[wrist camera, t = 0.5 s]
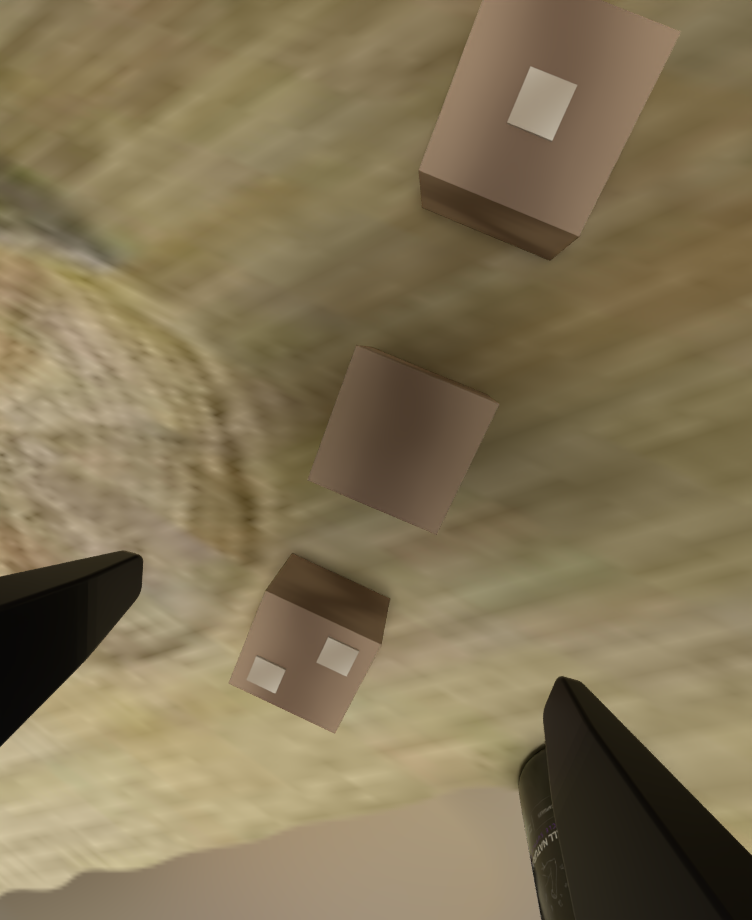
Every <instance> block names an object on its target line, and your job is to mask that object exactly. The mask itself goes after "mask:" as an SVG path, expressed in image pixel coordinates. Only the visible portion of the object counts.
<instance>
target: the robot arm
mask: <svg viewBox="0 0 752 920" xmlns="http://www.w3.org/2000/svg"><path fill="white" fill-rule="evenodd" d="M142 574H143V558H142V557H141V556H140V555H139V554H135V553H132V552H128V551H117V552H113V553H108V554H103V555H99V556H94V557H89V558H85V559H80V560H75V561H71V562H66V563H61V564H57V565H52V566H47V567H43V568H38V569H34V570H29V571H24V572H20V573H15V574H10V575H6V576H1V577H0V747H1V746H2V745H3V744H4V743H5V742H6V741H7V739H8V738H9V737H10V736H11V735H12V734H13V733H14V732H15V731H16V730H17V729H18V728H19V727H20V726H21V725H22V724H23V723H24V722H25V721H26V720H27V719H28V718H29V717H30V716H31V715H32V714H33V713H34V712H35V711H36V710H37V709H38V708H39V707H40V706H41V705H42V704H43V703H44V702H45V701H46V700H47V699H48V698H49V697H50V696H51V695H52V694H53V693H54V692H55V691H56V690H57V689H58V688H59V687H60V686H61V685H62V684H63V683H64V682H65V681H66V680H67V679H68V678H69V677H70V676H71V675H72V674H73V673H74V672H75V671H76V670H77V669H78V668H79V667H80V666H81V664H82V663H83V662H84V661H85V660H86V659H87V658H88V657H89V656H90V655H91V653H92V652H93V651H94V650H95V649H96V648H97V647H98V645H99V644H100V643H101V642H102V640H103V639H104V638H105V637H106V636H107V634H108V633H109V632H110V631H111V630H112V628H113V627H114V626H115V625H116V624H117V622H118V621H119V620H120V619H121V617H122V616H123V615H124V614H125V613H126V611H127V610H128V609H129V608H130V607H131V605H132V604H133V603H134V602H135V601H136V599H137V598H138V596H139V594H140V592H141V588H142ZM543 724H544V733H545V743H546V752H547V762H548V771H549V781H550V790H551V798H552V806H553V811H554V817H555V823H556V827H557V832H558V837H559V842H560V847H561V852H562V857H563V862H564V867H565V872H566V877H567V882H568V886H569V891H570V896H571V901H572V906H573V911H574V916H575V920H752V855H751V854H750V853H749V852H748V851H747V850H746V849H745V848H744V847H743V846H742V845H741V844H740V843H739V842H738V841H737V840H736V839H735V838H734V837H733V836H732V835H731V834H730V833H729V832H728V831H727V830H726V829H725V827H724V826H723V825H722V824H721V823H720V822H719V821H718V820H717V819H716V818H715V817H714V816H713V815H712V814H711V813H710V812H709V811H708V810H707V809H706V808H705V807H704V806H703V805H702V804H701V803H700V802H699V801H698V800H697V799H696V798H695V797H694V796H693V795H692V794H691V793H690V792H689V791H688V790H687V789H686V788H685V787H684V786H683V785H682V784H681V783H680V782H679V781H678V780H677V779H676V778H675V777H674V776H673V775H672V774H671V773H670V772H669V771H668V769H667V768H666V767H665V766H664V765H663V764H662V763H661V762H660V761H659V760H658V759H657V758H656V757H655V756H654V755H653V754H652V753H651V752H650V751H649V750H648V749H647V748H646V747H645V746H644V745H643V744H642V743H641V742H640V741H639V740H638V739H637V738H636V737H635V736H634V735H633V734H632V733H631V732H630V731H629V730H628V729H627V728H626V727H625V726H624V725H623V724H622V723H621V722H620V721H619V720H618V719H617V718H616V717H615V716H614V715H613V714H612V713H611V711H610V710H609V709H608V708H607V707H606V706H605V705H604V704H603V703H602V702H601V701H600V700H599V699H598V698H597V697H596V696H595V695H594V694H593V693H592V692H591V691H590V690H589V689H588V688H587V687H586V686H585V685H584V684H583V683H582V682H580V681H578V680H574V679H571V678H567V677H564V676H561V677H558V678H557V679H556V681H555V683H554V685H553V688H552V690H551V693H550V695H549V698H548V700H547V702H546V705H545V708H544V713H543Z"/></svg>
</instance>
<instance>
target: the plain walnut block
mask: <svg viewBox="0 0 752 920" xmlns="http://www.w3.org/2000/svg"><path fill="white" fill-rule="evenodd" d="M498 407H499V403H497V402H496V401H495V400H494V399H492V398H491V397H490V396H488V395H487V394H484V393H482V392H479V391H477V390H475V389H472V388H470V387H467V386H465V385H462V384H460V383H457V382H455V381H453V380H450V379H448V378H445V377H443V376H440V375H438V374H436V373H433V372H431V371H428V370H426V369H423V368H421V367H419V366H416V365H414V364H411V363H409V362H406V361H404V360H401V359H399V358H397V357H394V356H392V355H389V354H387V353H384V352H382V351H380V350H377V349H375V348H372V347H367V346H358V345H356V347H355V350H354V353H353V356H352V358H351V361H350V364H349V367H348V370H347V372H346V375H345V378H344V381H343V383H342V386H341V389H340V392H339V394H338V397H337V400H336V403H335V405H334V408H333V411H332V414H331V416H330V419H329V422H328V425H327V427H326V430H325V433H324V436H323V438H322V441H321V444H320V447H319V449H318V452H317V455H316V458H315V461H314V463H313V466H312V469H311V472H310V474H309V477H308V481H311V482H313V483H315V484H318V485H320V486H323V487H325V488H327V489H330V490H332V491H334V492H337V493H339V494H341V495H344V496H346V497H349V498H351V499H353V500H356V501H358V502H360V503H363V504H365V505H367V506H370V507H372V508H374V509H377V510H379V511H382V512H384V513H386V514H389V515H391V516H393V517H396V518H398V519H400V520H403V521H405V522H408V523H410V524H412V525H415V526H417V527H419V528H422V529H424V530H426V531H429V532H431V533H434V534H436V535H437V533H438V531H439V529H440V527H441V525H442V523H443V521H444V518H445V516H446V514H447V512H448V510H449V508H450V506H451V504H452V502H453V500H454V498H455V496H456V494H457V492H458V489H459V487H460V485H461V483H462V481H463V479H464V477H465V475H466V473H467V471H468V469H469V467H470V465H471V462H472V460H473V458H474V456H475V454H476V452H477V450H478V448H479V446H480V444H481V442H482V440H483V438H484V436H485V433H486V431H487V429H488V427H489V425H490V423H491V421H492V419H493V417H494V415H495V413H496V411H497V409H498Z"/></svg>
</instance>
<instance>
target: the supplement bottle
mask: <svg viewBox="0 0 752 920" xmlns="http://www.w3.org/2000/svg"><path fill="white" fill-rule="evenodd" d="M519 796H520V803H521V808H522V815H523V820H524V826H525V831H526V836H527V843H528V848H529V853H530V859H531V865H532V870H533V876H534V882H535V887H536V893H537V898H538V903H539V909H540V915H541V920H575V916H574V911H573V906H572V901H571V896H570V891H569V886H568V882H567V877H566V872H565V867H564V862H563V857H562V852H561V847H560V842H559V837H558V832H557V827H556V823H555V817H554V811H553V806H552V798H551V790H550V781H549V771H548V762H547V752H546V748H545V749H543V750H541V751H540V752H538V753H537V754H535V755H534V756H533V757H532V758H531V759H530V760H529V761H528V762H527V764H526V765H525V767H524V768H523V771H522V773H521V776H520V780H519Z"/></svg>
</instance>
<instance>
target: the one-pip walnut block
mask: <svg viewBox="0 0 752 920" xmlns="http://www.w3.org/2000/svg"><path fill="white" fill-rule="evenodd" d="M680 33H681V32H680V31H678V30H675V29H673V28H670V27H668V26H665V25H663V24H660V23H658V22H655V21H653V20H650V19H647V18H645V17H642V16H640V15H637V14H635V13H632V12H630V11H627V10H625V9H622V8H620V7H617V6H614V5H612V4H609V3H607V2H604V1H602V0H483V1H482V3H481V6H480V9H479V11H478V14H477V16H476V19H475V22H474V24H473V27H472V30H471V32H470V35H469V38H468V40H467V43H466V46H465V48H464V51H463V54H462V56H461V59H460V62H459V64H458V67H457V70H456V72H455V75H454V78H453V80H452V83H451V86H450V88H449V91H448V94H447V96H446V99H445V102H444V104H443V107H442V110H441V112H440V115H439V118H438V120H437V123H436V126H435V128H434V131H433V133H432V136H431V139H430V141H429V144H428V147H427V149H426V152H425V155H424V157H423V160H422V163H421V165H420V168H419V179H420V190H421V201H422V208H425V209H427V210H430V211H432V212H434V213H437V214H439V215H442V216H444V217H446V218H449V219H451V220H454V221H456V222H458V223H461V224H463V225H466V226H468V227H470V228H473V229H475V230H478V231H480V232H482V233H485V234H487V235H490V236H492V237H494V238H497V239H499V240H502V241H504V242H506V243H509V244H511V245H514V246H516V247H518V248H521V249H523V250H526V251H528V252H530V253H533V254H535V255H538V256H540V257H543V258H545V259H547V260H551V259H553V258H554V257H555V256H556V255H557V254H559V253H560V252H561V251H562V250H564V249H565V248H566V247H567V246H568V245H570V244H571V243H572V242H573V241H575V240H576V239H577V238H578V237H579V236H580V234H581V232H582V230H583V228H584V226H585V224H586V222H587V220H588V218H589V216H590V214H591V212H592V210H593V208H594V206H595V204H596V202H597V200H598V198H599V196H600V194H601V192H602V190H603V188H604V186H605V184H606V182H607V180H608V178H609V176H610V174H611V172H612V170H613V168H614V166H615V164H616V162H617V160H618V158H619V156H620V154H621V152H622V150H623V148H624V146H625V144H626V142H627V140H628V138H629V136H630V134H631V132H632V130H633V128H634V126H635V124H636V122H637V120H638V118H639V115H640V113H641V111H642V109H643V107H644V105H645V103H646V101H647V99H648V97H649V95H650V93H651V91H652V89H653V87H654V85H655V83H656V81H657V79H658V77H659V75H660V73H661V71H662V69H663V67H664V65H665V63H666V61H667V59H668V57H669V55H670V53H671V51H672V49H673V47H674V45H675V43H676V41H677V39H678V37H679V35H680Z"/></svg>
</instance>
